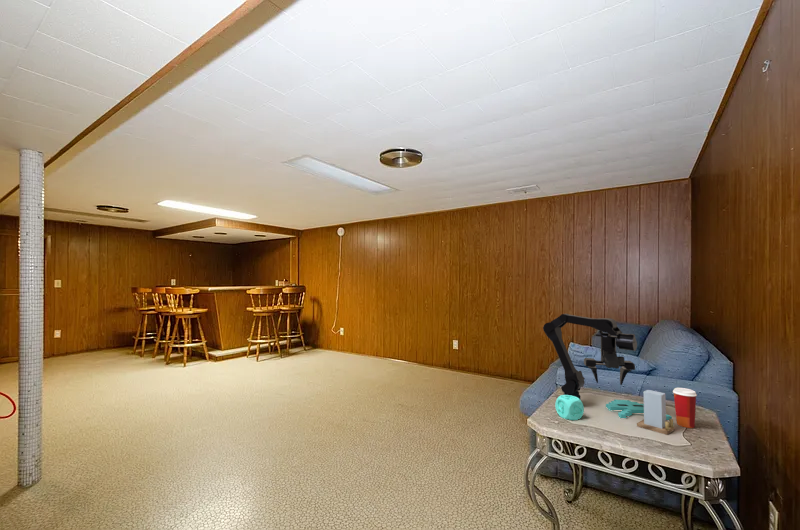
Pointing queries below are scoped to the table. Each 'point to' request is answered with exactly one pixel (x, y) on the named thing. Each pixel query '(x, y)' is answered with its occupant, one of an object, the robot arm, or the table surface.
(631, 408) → the alien figure
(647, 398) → the pale blue upright block
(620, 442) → the table surface
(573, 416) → the decorative dice
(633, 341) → the robot arm
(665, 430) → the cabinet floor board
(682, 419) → the paper cup
